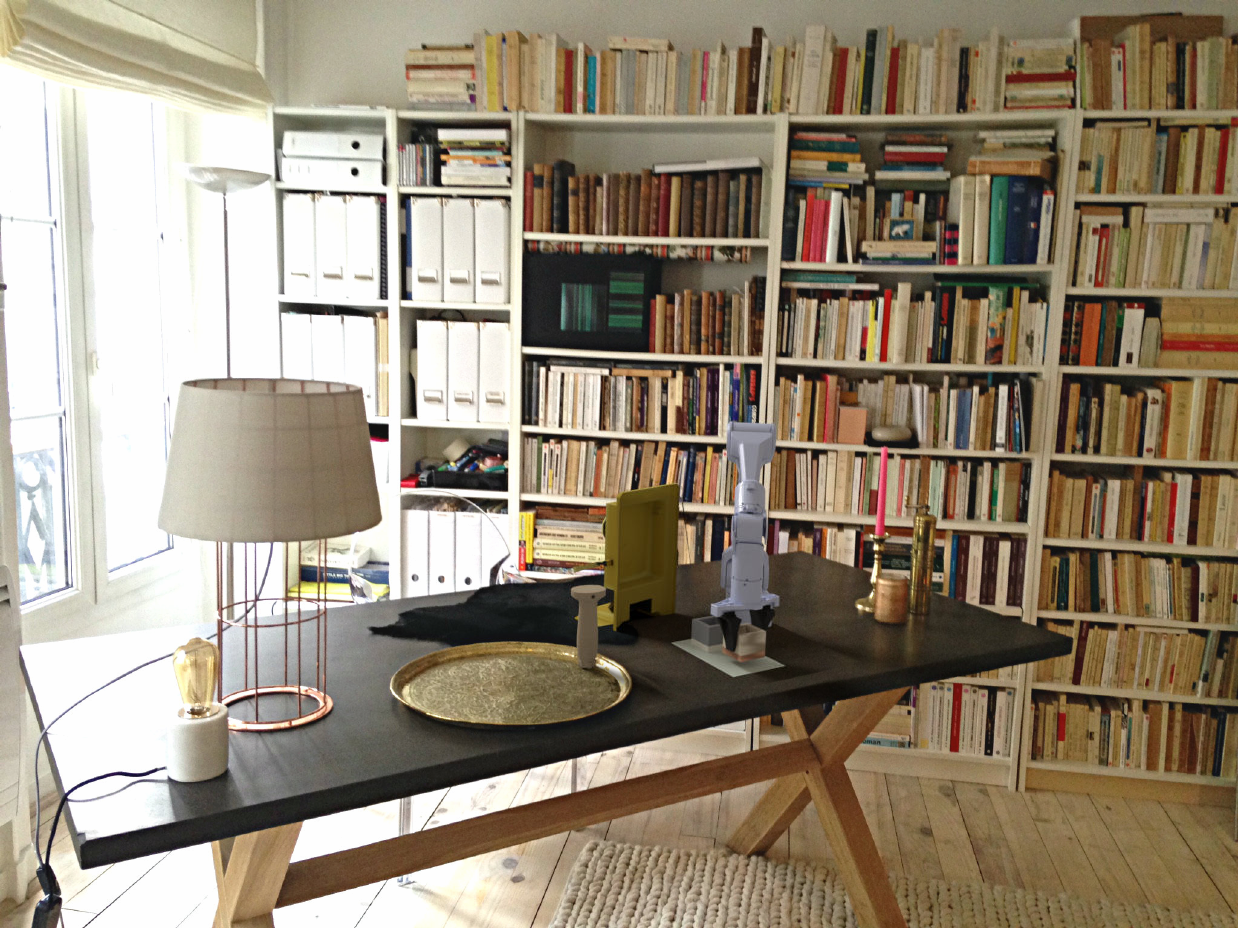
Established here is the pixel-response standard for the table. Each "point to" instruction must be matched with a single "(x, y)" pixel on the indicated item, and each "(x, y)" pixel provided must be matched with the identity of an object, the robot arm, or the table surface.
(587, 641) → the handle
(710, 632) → the charcoal sleeve
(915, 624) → the table surface
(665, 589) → the yellow recessed panel
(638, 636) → the table surface
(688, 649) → the pin board
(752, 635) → the birch sleeve
